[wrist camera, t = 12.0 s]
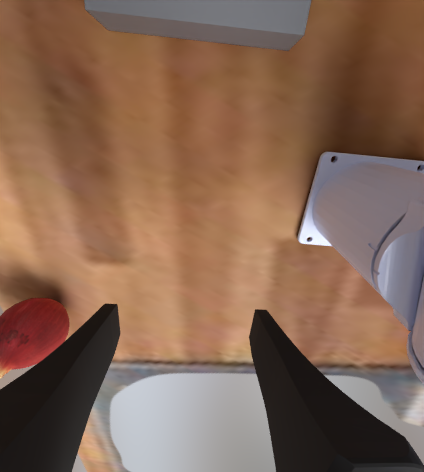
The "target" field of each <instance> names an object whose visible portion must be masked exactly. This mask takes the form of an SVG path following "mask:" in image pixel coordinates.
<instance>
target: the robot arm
mask: <svg viewBox="0 0 424 472" xmlns="http://www.w3.org/2000/svg"><path fill="white" fill-rule="evenodd" d="M333 156H335V160H334V161H333V162H331V158H332V157H333ZM419 165H420V168H419V169H418V170H417V168H418V166H419ZM308 237H311V238H310V239H309V240H307V238H308ZM298 241H299V242H300V243H302V244H313V245H325V246H333V247H334V248H335V249H336V250H337V251H338V252H339V253H340V254H341V255H342V256H343V257H344V258H345V259H346V260H347V261H348V262H349V263H350V264H351V265H352V266H353V267H354V268H355V269H356V270H357V271H358V272H359V273H360V274H361V275H362V277H363V278H364V279H365V280H366V281H367V282H368V283H369V284H370V285H371V286H372V287H373V288H374V289H375V290H376V291H377V292H378V293H379V294H380V295H381V296H382V297H383V298H384V299H385V300H386V301H387V302H388V303H389V304H390V305H391V306H392V307H393V309H394V316H395V317H396V318H397V319H398V320H399V321H400V322H401V323H402V324H403V325H404V326H405V327H406V328H407V329H408V330H409V331H411V332H410V333H409V335H408V340H407V355H408V358H409V361H410V364H411V366H412V368H413V369H414V371H415V373H416V375H417V376H418V378H419V379H420V380H421V381H422V383H423V384H424V161H418V160H408V159H398V158H387V157H377V156H367V155H357V154H347V153H337V152H324V153H323V154H322V155H321V156H320V159H319V162H318V166H317V169H316V173H315V177H314V180H313V184H312V187H311V191H310V194H309V198H308V202H307V205H306V209H305V212H304V216H303V219H302V223H301V227H300V230H299V234H298ZM119 337H120V325H119V315H118V306H117V304H104V305H103V306H102V307H101V308H100V309H99V310H98V311H97V312H96V313H95V314H94V315H93V316H92V317H91V318H90V319H89V320H88V321H87V322H85V323H84V324H83V325H82V326H81V327H80V328H79V329H78V330H77V331H76V332H75V333H74V334H73V335H71V336H70V337H69V338H68V339H67V340H66V341H65V342H63V343H62V344H61V345H60V346H59V347H58V348H56V349H55V350H54V351H53V352H52V353H50V354H49V355H48V356H47V357H45V358H44V359H43V360H42V361H40V362H39V363H38V364H36V365H35V366H34V367H33V368H31V369H30V370H28V371H27V372H26V373H24V374H23V375H21V376H20V377H18V378H17V379H15V380H14V381H12V382H11V383H9V384H8V385H6V386H5V387H3V388H2V389H0V472H72V469H73V465H74V462H75V459H76V456H77V452H78V449H79V446H80V443H81V439H82V436H83V433H84V430H85V427H86V424H87V421H88V418H89V415H90V412H91V409H92V407H93V404H94V401H95V399H96V397H97V394H98V392H99V389H100V387H101V385H102V382H103V380H104V378H105V375H106V373H107V371H108V368H109V366H110V363H111V361H112V358H113V356H114V354H115V350H116V347H117V344H118V340H119ZM249 339H250V346H251V353H252V358H253V362H254V366H255V370H256V374H257V377H258V381H259V384H260V388H261V392H262V396H263V400H264V404H265V408H266V412H267V418H268V424H269V429H270V435H271V441H272V447H273V453H274V459H275V466H276V472H424V465H423V463H422V462H421V460H420V459H419V457H418V456H417V454H416V452H415V451H414V449H413V448H412V447H411V445H410V444H409V442H408V441H407V440H406V438H405V437H404V436H402V435H401V434H399V433H398V432H396V431H395V430H393V429H392V428H391V427H389V426H388V425H386V424H384V423H383V422H382V421H380V420H378V419H377V418H376V417H374V416H373V415H372V414H370V413H369V412H368V411H366V410H365V409H364V408H362V407H361V406H360V405H358V404H357V403H356V402H355V401H353V400H352V399H351V398H349V397H348V396H347V395H346V394H345V393H343V392H342V391H341V390H340V389H339V388H338V387H336V386H335V385H334V384H333V383H332V382H331V381H329V380H328V379H327V378H326V377H325V376H324V375H323V374H322V373H321V372H320V371H319V370H318V369H317V368H316V367H315V366H313V364H312V363H311V362H310V361H309V360H308V359H307V358H306V357H305V356H304V355H303V354H302V353H301V352H300V351H299V350H298V348H297V347H296V346H295V345H294V344H293V343H292V341H291V340H290V339H289V338H288V337H287V335H286V334H285V333H284V332H283V330H282V329H281V328H280V327H279V325H278V324H277V323H276V322H275V320H274V319H273V318H272V316H271V315H270V314H269V312H268V311H267V310H256V309H255V313H254V318H253V322H252V327H251V331H250V336H249Z"/></svg>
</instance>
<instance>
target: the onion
mask: <svg viewBox="0 0 424 472" xmlns="http://www.w3.org/2000/svg"><path fill="white" fill-rule="evenodd" d="M68 331H69V318H68V315H67V312H66V309H65V308H64V307H63V305H62V304H61V303H59V302H58V301H55V300H52V299H49V298H31V299H28V300H24V301H22V302H19V303H17V304H15V305H13V306H12V307H10V308H9V309H7V310H6V311H5V312H4V313H3V314H2V315H1V316H0V378H2V377H3V376H4V375H5V374H6V373H8V372H9V371H10V370H11V369H20V368H26V367H29V366H32V365H35V364H37V363H39V362H40V361H42V360H43V359H44V358H45V357H47V356H48V355H49V354H50V353H52V352H53V351H54V350H55V349H56V348H58V347H59V346H60V345H61V344H62V343H63V342H64V341H65V339H66V337H67V335H68Z"/></svg>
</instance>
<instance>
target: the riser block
mask: <svg viewBox="0 0 424 472" xmlns="http://www.w3.org/2000/svg"><path fill="white" fill-rule="evenodd" d="M84 2H85V10H86V11H87V12H88V13H90V14H91V15H92V16H93V17H94V18H95V19H96V20H97V21H98V22H100V23H101V24H102V25H103V26H104V27H105V28H106V29H107V30H110V31H119V32H128V33H136V34H145V35H154V36H163V37H172V38H180V39H189V40H198V41H207V42H215V43H224V44H233V45H242V46H250V47H259V48H268V49H277V50H286V51H289V50H290V49H291V48H292V47H293V46H294V45H295V44H296V43H297V42H298V41H299V40H300V39H301V38H302V37H303V36H304V33H305V29H306V24H307V19H308V14H309V9H310V4H311V0H84Z"/></svg>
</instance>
